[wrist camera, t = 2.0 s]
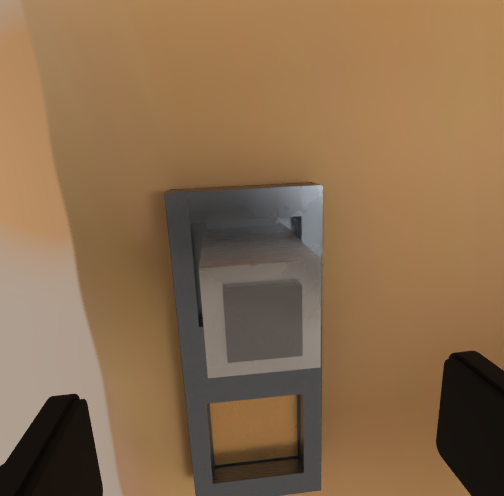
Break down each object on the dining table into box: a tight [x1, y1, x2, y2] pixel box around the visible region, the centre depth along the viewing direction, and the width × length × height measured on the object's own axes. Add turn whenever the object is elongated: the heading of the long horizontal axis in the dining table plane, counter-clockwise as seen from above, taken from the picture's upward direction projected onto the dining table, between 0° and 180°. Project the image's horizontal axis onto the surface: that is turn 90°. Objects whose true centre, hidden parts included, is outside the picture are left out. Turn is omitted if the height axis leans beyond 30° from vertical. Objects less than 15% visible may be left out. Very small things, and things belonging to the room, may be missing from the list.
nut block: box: [199, 225, 321, 378], centre depth 19 cm, size 5×5×8 cm
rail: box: [164, 182, 323, 496], centre depth 24 cm, size 9×22×2 cm, turn 2°
